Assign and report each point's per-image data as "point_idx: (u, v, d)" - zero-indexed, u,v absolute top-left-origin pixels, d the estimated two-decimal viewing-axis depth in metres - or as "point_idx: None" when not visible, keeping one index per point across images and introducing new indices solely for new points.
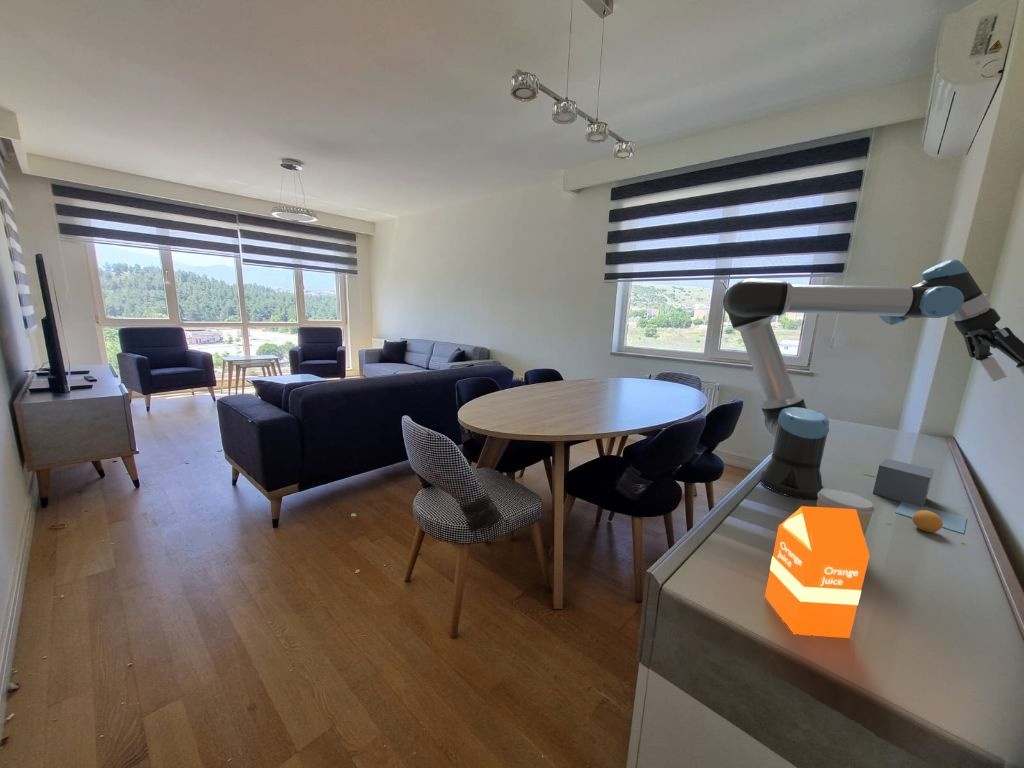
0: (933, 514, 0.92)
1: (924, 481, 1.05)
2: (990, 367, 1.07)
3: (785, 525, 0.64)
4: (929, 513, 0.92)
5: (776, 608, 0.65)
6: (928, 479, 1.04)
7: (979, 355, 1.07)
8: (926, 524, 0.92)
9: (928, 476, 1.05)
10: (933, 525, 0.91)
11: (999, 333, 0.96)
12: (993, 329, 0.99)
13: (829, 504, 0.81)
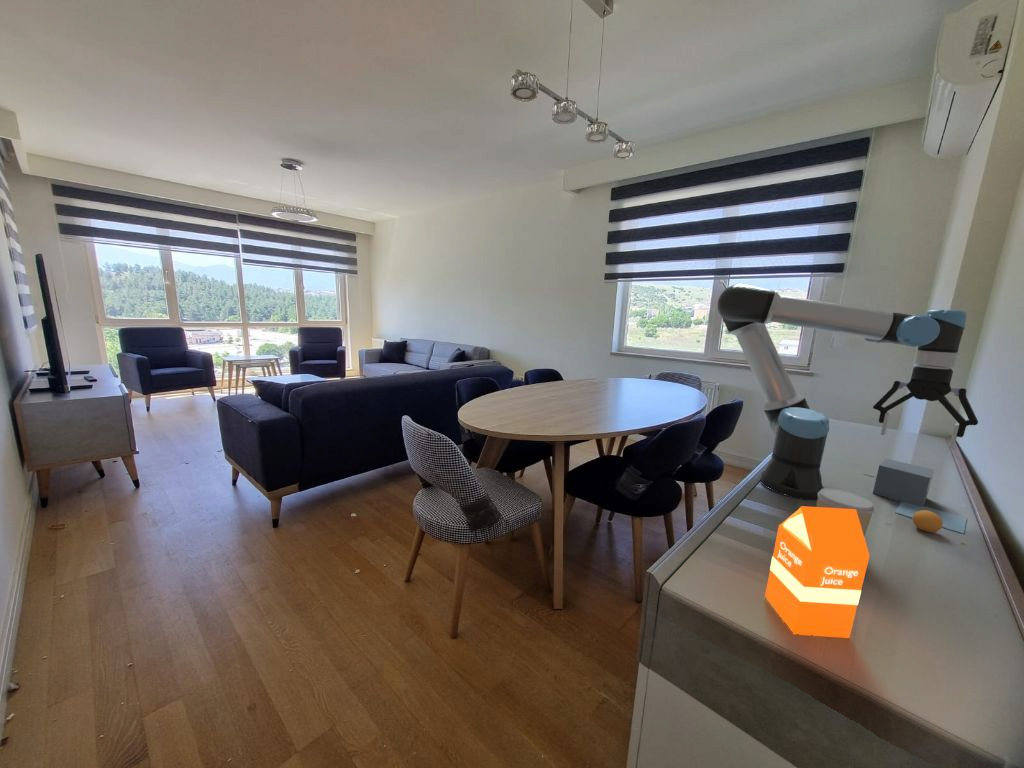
0: (933, 514, 0.92)
1: (924, 481, 1.05)
2: (887, 421, 1.13)
3: (785, 525, 0.64)
4: (929, 513, 0.92)
5: (776, 608, 0.65)
6: (928, 479, 1.04)
7: None
8: (926, 524, 0.92)
9: (928, 476, 1.05)
10: (933, 525, 0.91)
11: (965, 391, 1.01)
12: None
13: (829, 504, 0.81)
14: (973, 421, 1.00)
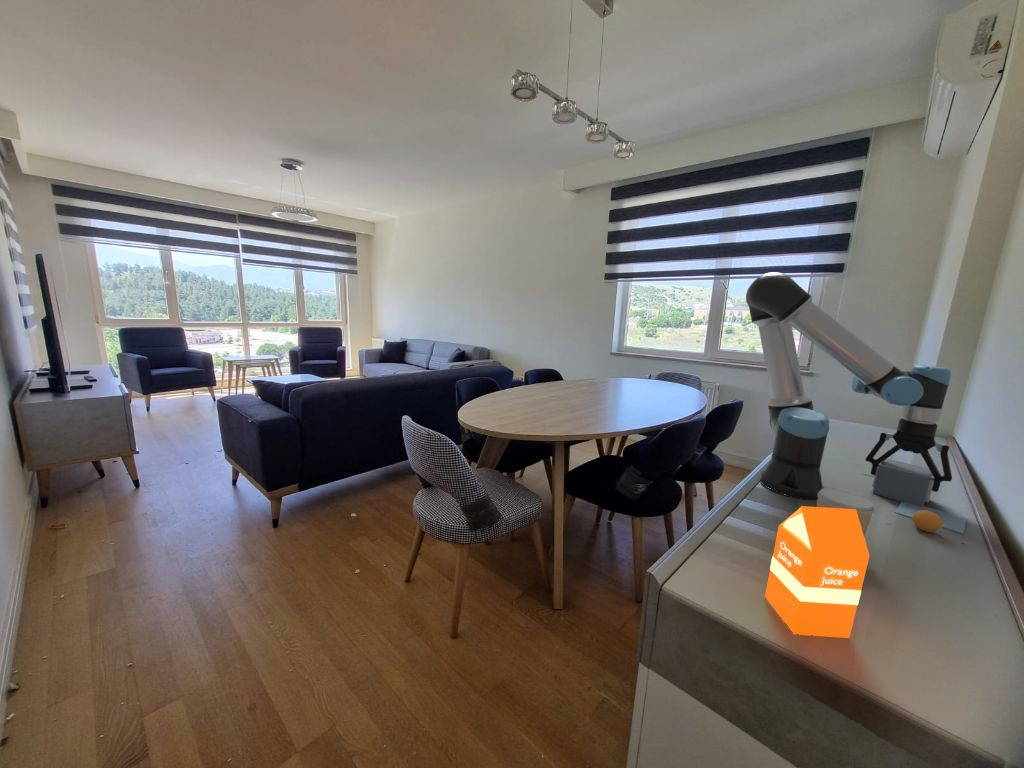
0: (933, 514, 0.92)
1: (924, 481, 1.05)
2: None
3: (785, 525, 0.64)
4: (929, 513, 0.92)
5: (776, 608, 0.65)
6: (928, 479, 1.04)
7: (883, 460, 1.14)
8: (926, 524, 0.92)
9: (928, 476, 1.05)
10: (933, 525, 0.91)
11: None
12: (933, 441, 1.06)
13: (829, 504, 0.81)
14: (948, 477, 1.04)
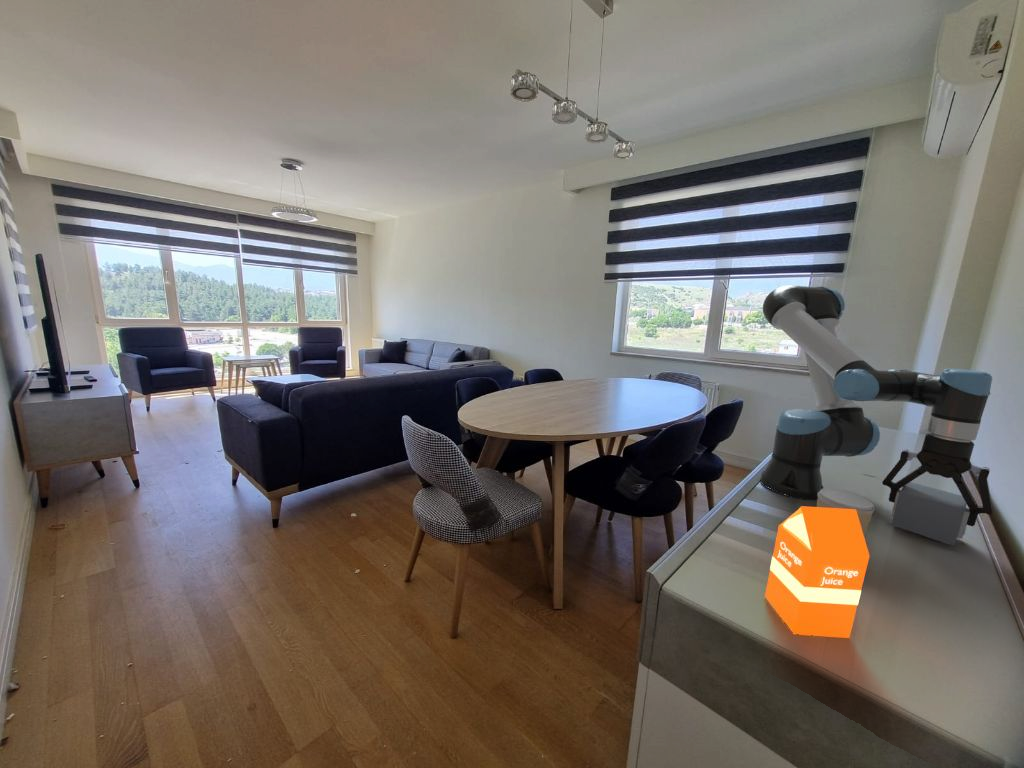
0: None
1: (957, 513, 0.84)
2: None
3: (785, 525, 0.64)
4: None
5: (776, 608, 0.65)
6: (962, 511, 0.83)
7: (904, 485, 0.93)
8: None
9: (962, 507, 0.84)
10: None
11: None
12: None
13: (829, 504, 0.81)
14: (987, 509, 0.83)
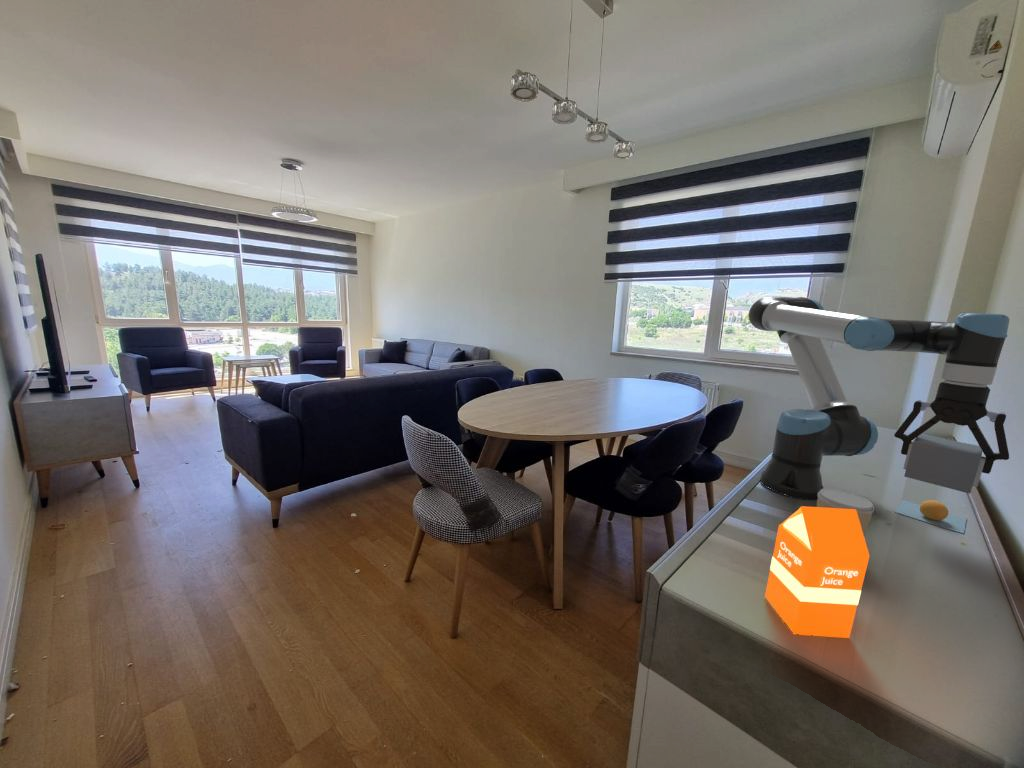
0: None
1: (973, 460, 0.82)
2: None
3: (785, 525, 0.64)
4: (931, 519, 0.99)
5: (776, 608, 0.65)
6: (979, 457, 0.82)
7: (917, 436, 0.91)
8: None
9: (978, 453, 0.82)
10: None
11: None
12: None
13: (829, 504, 0.81)
14: (1004, 455, 0.81)
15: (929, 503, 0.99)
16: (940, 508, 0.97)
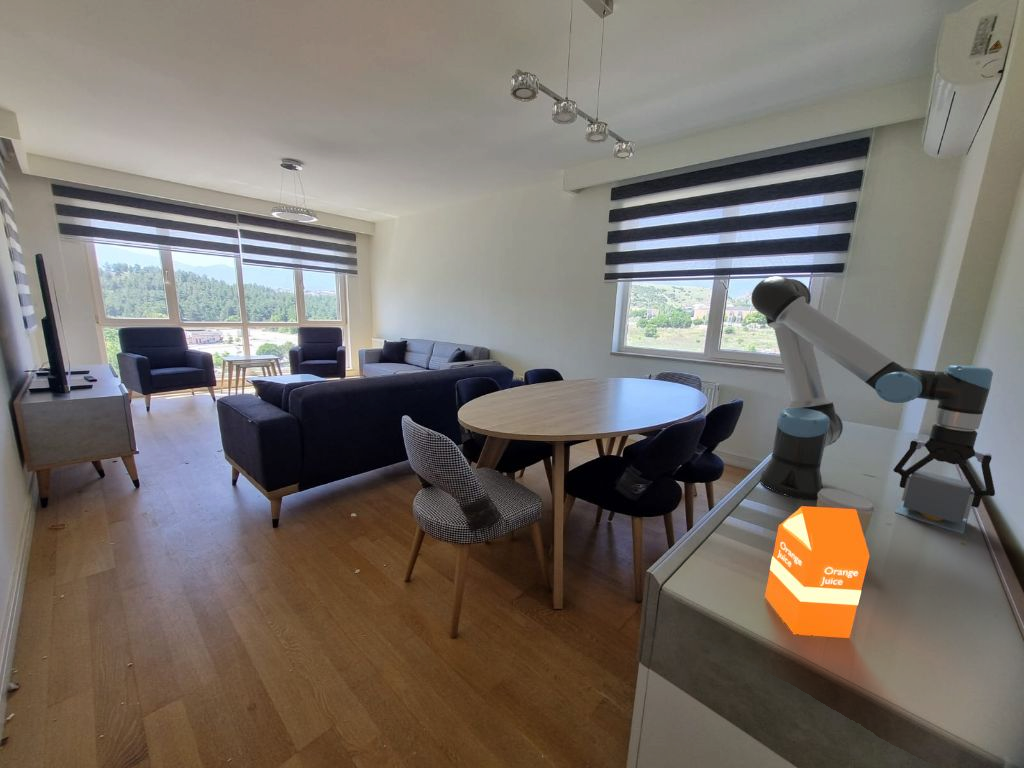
0: (934, 520, 0.98)
1: (964, 494, 0.93)
2: None
3: (785, 525, 0.64)
4: (931, 519, 0.99)
5: (776, 608, 0.65)
6: (969, 491, 0.92)
7: (913, 472, 1.02)
8: None
9: (968, 488, 0.93)
10: None
11: None
12: None
13: (829, 504, 0.81)
14: (990, 492, 0.92)
15: None
16: None
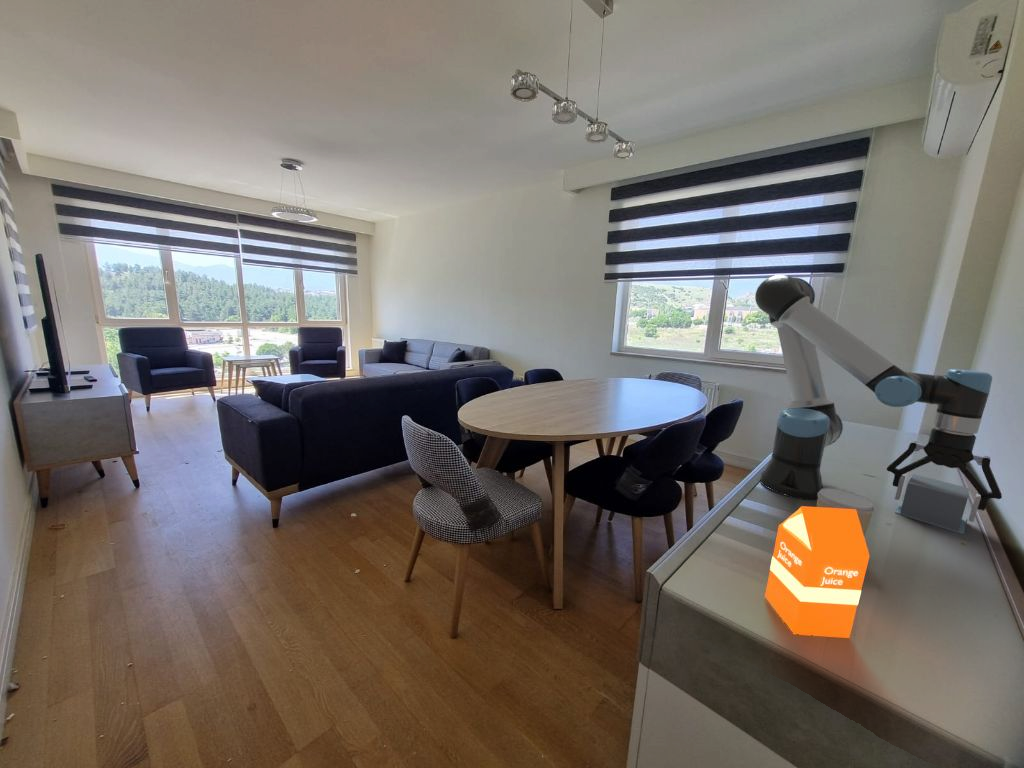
0: None
1: (960, 502, 0.93)
2: (902, 485, 1.05)
3: (785, 525, 0.64)
4: None
5: (776, 608, 0.65)
6: (965, 500, 0.92)
7: (907, 471, 1.03)
8: None
9: (965, 496, 0.93)
10: None
11: None
12: None
13: (829, 504, 0.81)
14: (997, 495, 0.91)
15: None
16: None
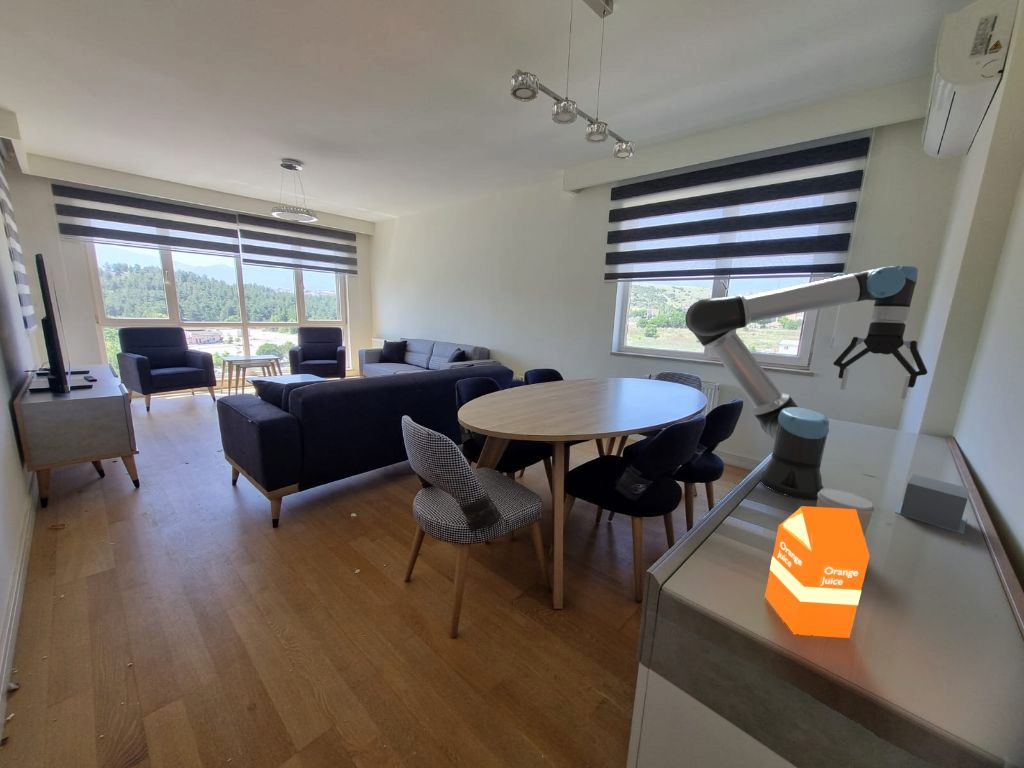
0: None
1: (960, 502, 0.93)
2: (846, 377, 1.19)
3: (785, 525, 0.64)
4: None
5: (776, 608, 0.65)
6: (965, 500, 0.92)
7: (850, 363, 1.17)
8: None
9: (965, 496, 0.93)
10: None
11: (916, 343, 1.06)
12: None
13: (829, 504, 0.81)
14: (922, 371, 1.05)
15: None
16: None
